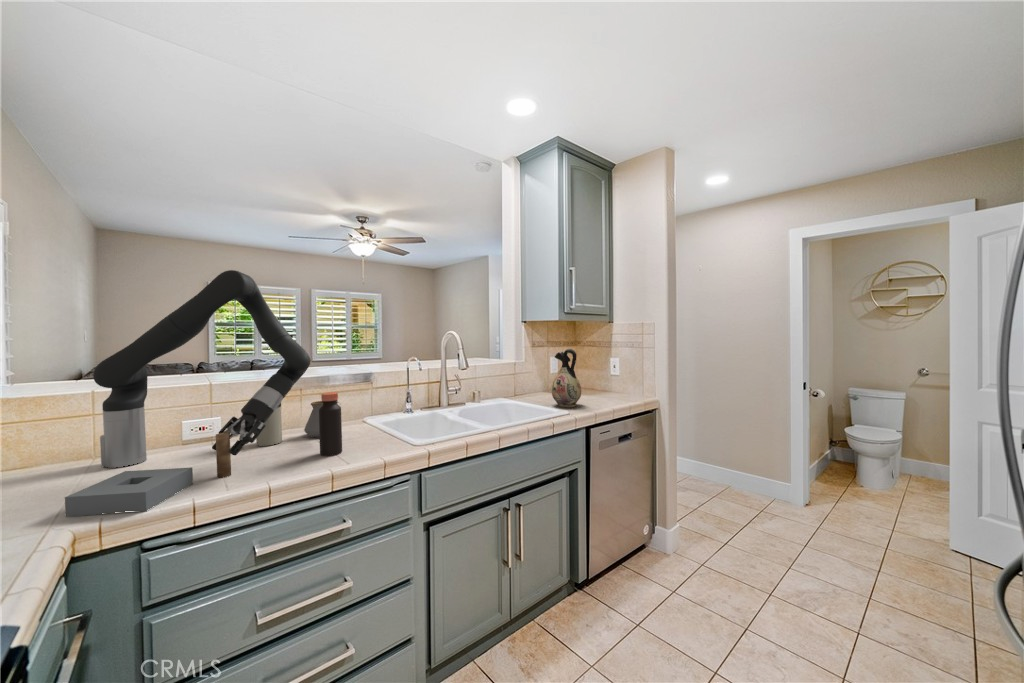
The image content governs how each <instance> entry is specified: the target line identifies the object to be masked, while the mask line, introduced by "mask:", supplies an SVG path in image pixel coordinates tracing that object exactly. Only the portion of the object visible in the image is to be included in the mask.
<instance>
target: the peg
mask: <svg viewBox="0 0 1024 683" xmlns="http://www.w3.org/2000/svg"><path fill="white" fill-rule="evenodd" d="M230 434H231V433H229V432H225V433H219V432H218V433H217V434H215V443H216V451H215V453H216V454H215V455H216V478H217V477H218V479H223V477H224V478H228V477H230V476H232V465H231V464H232V461H231V458H232V457H231V456H232V454H230V453H229V450H230V449H231V439H230ZM227 476H228V477H227Z"/></svg>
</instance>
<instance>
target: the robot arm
mask: <svg viewBox="0 0 1024 683" xmlns="http://www.w3.org/2000/svg"><path fill="white" fill-rule="evenodd" d="M231 301H236V302H238V303H239V304H240V305H241V306H242V307H243V308H244V310H246V311H247V312H248V314H249V315H250V316H251V318H252V320H253V322H254V324H255V327H256V329H257V332H258V334H260V336H261V338H262V339H263V340H264V341H265V343H266V344H267V345H268V347H269V348H270V349H271V351H273V353H276V354H279V355H280V357H282V358H283V360H284V363H283V364H282V365H281V367H279V369H278V370H277V371H276V372H275V373H274V374H272V375H271V376H270V377H269V379H267V380H266V382H265V383H264V384H263V385H262V386H261V387H260V388H259V389H258V390H257V391H256V392H255V393H254V394H253V395H252V397H251V398H250V399H249V400H248V401H247V402H246V403H245V404H244V405H243V407H242V408H241V409H240V412H241V414H242V415H241V416H240V417H239V418H238V417H236V416H232V417H231V418H230V419H229V420H228V422H226V423H225V424H224V425H223V427H222V428H221V429H219V431H218V434H219V433H225V432H229V433H230V440H231V439H232V438H234V437H238V436H239V438H238V440H236V442H235V443H234V444H233V445H232V446H231V447H230V450H229V453H230V455H231V456H237V455H238V453H240V451H242V449H243V448H244V446H246V445H247V444H249V443H251V444H252V443H254V442H255V441H256V438H257V437H258V435H259V434H260V433H261V432H262V430H263V429H264V428H265V426H266V425H265V424H264V423H265V422H266V421H267V419H268V418H269V417H270V416H271V415H272V413H273V412H274V411H275V410H276V408H277V407H278V406H279V405H280V403H281V404H282V401H283V400H284V399H285V397H286V396H287V395H288V394H289V392H290V391H291V389H292V388H293V386H294V385H295V384H297V382H298V381H299V380H300V378H302V377H303V376H304V375H305V373H306V372H307V370H308V369H309V367H310V365H311V363H312V362H311V357H310V355H309V353H308V352H307V350H306V349H305V348H303V346H301V345H300V344H299V343H298V342H297V341H295V340H294V339H293V337H292V336H291V335H290V333H289V332H288V331H287V329H286V328H285V327H284V325H283V324H282V323H281V321H280V320H279V319H278V317H276V315H275V313H273V311H272V310H271V308H270V307H269V305H268V303H267V301H266V299H265V298H264V296H263V294H262V293H261V290H260V289H259V287H258V284H257V283H256V281H255V280H254V279H253V278H252V277H251V276H250V275H248V274H246V273H243V272H241V271H239V270H234V269H230V270H229V269H228V270H224V271H223V272H220V274H218V275H217V276H216V277H215V278H213V279H212V280H211V281H210V282H209V283H208V284H207V285H206V286H205V287H204V288H202V290H200V291H199V292H198V293H197V294H195V296H193V297H192V298H190V299H189V300H187V301H186V302H184V303H183V304H182V305H181V306H179V307H178V308H176V309H175V310H174V311H172V312H171V313H169V314H168V315H166V316H165V317H163V318H162V319H161V320H159V321H158V322H157V323H156V324H155V325H154V326H152V327H151V328H150V329H148V330H147V331H145V332H144V333H142V335H141V336H139V337H137V339H135V340H133V342H131V343H130V344H128V345H127V346H126V347H124V348H122V349H120V350H119V351H117V352H115V353H114V354H112V355H109V357H106V358H105V359H103V360H101V361H100V362H99V363H98V364H97V365H96V366H95V368H94V370H93V374H92V377H93V380H94V382H95V383H96V384H97V385H98V386H100V387H102V388H106V389H111V392H110V394H109V396H108V397H106V399H105V400H103V401H102V405H101V407H102V422H103V434H102V435H100V436H99V443H100V444H99V445H100V447H99V448H100V462H101V464H100V466H101V468H103V467H102V466H105V467H104V468H107V467H108V468H107V469H116V467H118V468H122V467H123V466H125V467H129V466H128V465H130V466H134V465H138V464H141V463H143V461H144V462H146V461H147V437H146V416H145V415H146V414H145V401H146V398H147V396H148V369H147V365H148V364H149V363H151V362H153V361H154V360H156V359H158V358H160V357H162V356H164V355H166V354H169V353H171V352H173V351H175V350H176V349H179V348H180V347H182V346H184V345H185V344H187V343H188V342H190V341H191V340H192V339H194V338H195V337H197V335H199V334H200V333H201V332H202V331H203V330H204V329H205V327H206V326H207V324H208V323H209V321H210V319H211V318H212V316H213V315H214V313H216V312H217V311H218V310H219V309H220V308H223V306H225V305H226V304H228V303H229V302H231ZM211 450H214V451H215V452H216V442H215V443H213V445H212V447H211ZM137 463H138V464H137ZM133 464H134V465H133Z"/></svg>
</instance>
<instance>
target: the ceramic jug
mask: <svg viewBox="0 0 1024 683" xmlns="http://www.w3.org/2000/svg"><path fill="white" fill-rule="evenodd" d="M568 354H571V355H572V360H571V358H570V356H568ZM554 358H555V359H557V360H559V361H561V367H560V369H559V371H558V372H557V373H556V375H555V377H554V380H553V381H552V384H551V395H552V398H553V400H554V401H555V402H556V403H557V406H558V407H559V408H560V407H561V408H573V407H574V408H575V407H576V406H577V403H578V401H579V400H580V398H581V397H582V387H581V383H580V381H579V379H578V377H577V374H576V372H575V370H574V369H575V367H576V362H577V352H576V351H575V350H574V349H572V348H568V349H565V350H564V351H561V352H557V353H556V354H555V355H554ZM570 362H571V365H569V363H570Z"/></svg>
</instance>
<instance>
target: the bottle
mask: <svg viewBox="0 0 1024 683" xmlns="http://www.w3.org/2000/svg"><path fill="white" fill-rule="evenodd" d="M338 394H339V393H338V392H336V391H335V392H333V391H332V392H324V393H323V392H322V393H321V401H322V402H323V405H322V406H321V407H320V409H319V437H318V439H319V455H321V456H323V457H331V456H337V455H339V453H340V454H341V453H342V452H343V432H342V427H343V426H342V425H343V424H342V406H341V405H340V404H339V403H337V401H338V400H339V398H338V397H339V396H338ZM338 402H339V401H338Z"/></svg>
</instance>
